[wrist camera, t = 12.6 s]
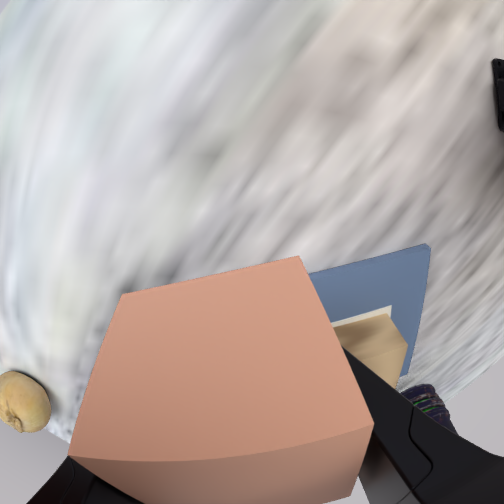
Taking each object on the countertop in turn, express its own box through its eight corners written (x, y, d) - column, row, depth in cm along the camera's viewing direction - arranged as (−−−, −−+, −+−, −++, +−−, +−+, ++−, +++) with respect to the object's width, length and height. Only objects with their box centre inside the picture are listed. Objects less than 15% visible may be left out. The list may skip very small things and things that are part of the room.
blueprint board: (425, 243, 21) (431, 248, 20) (404, 368, 29) (407, 374, 28) (199, 298, 21) (199, 306, 21) (247, 412, 29) (247, 419, 28)
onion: (62, 411, 28) (48, 456, 22) (12, 392, 26) (-4, 432, 20) (49, 374, 25) (29, 425, 18) (-5, 352, 23) (-29, 397, 17)
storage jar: (373, 433, 36) (403, 513, 23) (369, 406, 32) (409, 506, 18) (431, 405, 35) (468, 479, 22) (437, 372, 31) (488, 461, 17)
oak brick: (386, 312, 23) (408, 345, 19) (378, 359, 26) (394, 390, 22) (268, 341, 23) (276, 380, 19) (277, 385, 26) (284, 421, 22)
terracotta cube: (298, 255, 8) (374, 423, 3) (312, 372, 10) (350, 496, 6) (122, 294, 8) (67, 454, 3) (181, 397, 10) (176, 518, 6)
